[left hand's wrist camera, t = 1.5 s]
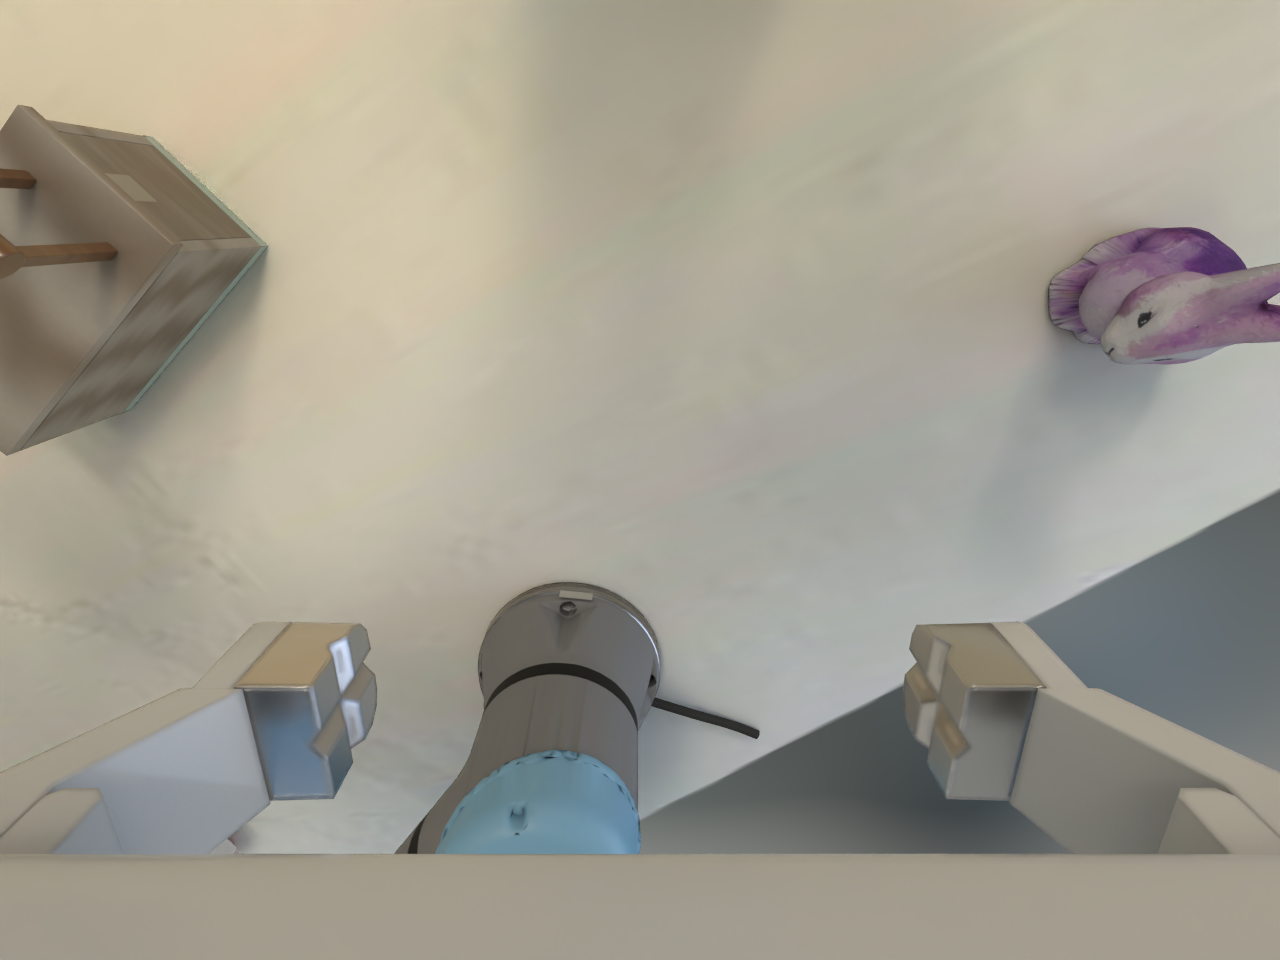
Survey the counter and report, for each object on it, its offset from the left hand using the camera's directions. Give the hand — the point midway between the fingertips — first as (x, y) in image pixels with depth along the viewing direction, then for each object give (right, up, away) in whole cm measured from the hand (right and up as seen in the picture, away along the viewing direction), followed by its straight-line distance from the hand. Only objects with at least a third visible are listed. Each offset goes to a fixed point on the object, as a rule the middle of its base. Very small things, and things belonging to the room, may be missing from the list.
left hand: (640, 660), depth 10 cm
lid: (-35, +13, +29) cm, 47 cm away
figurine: (+33, +16, +39) cm, 54 cm away
